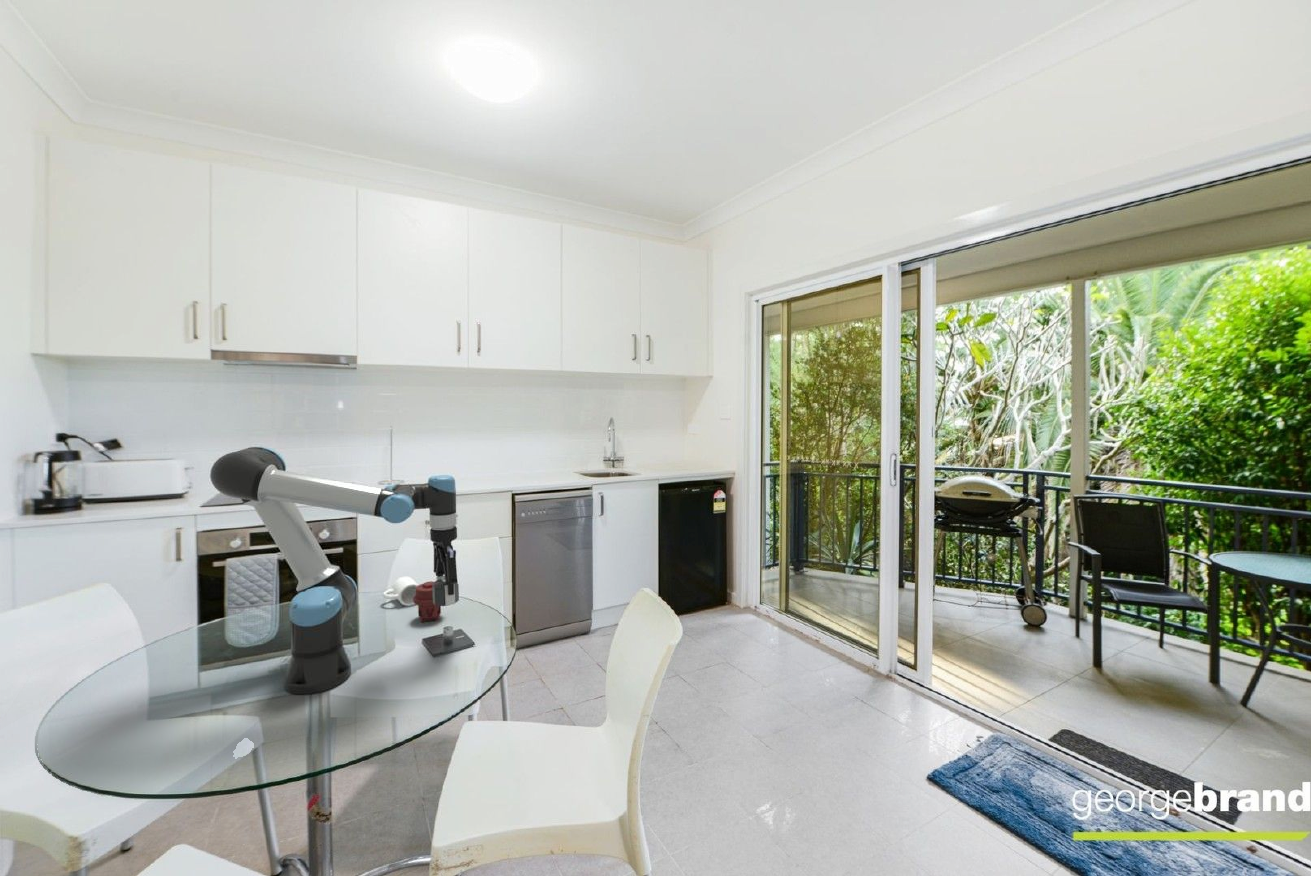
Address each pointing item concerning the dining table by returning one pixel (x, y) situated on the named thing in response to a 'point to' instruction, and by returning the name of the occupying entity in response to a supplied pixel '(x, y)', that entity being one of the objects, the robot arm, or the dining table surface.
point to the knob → (442, 592)
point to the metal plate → (447, 641)
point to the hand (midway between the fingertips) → (446, 600)
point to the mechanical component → (426, 602)
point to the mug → (403, 591)
